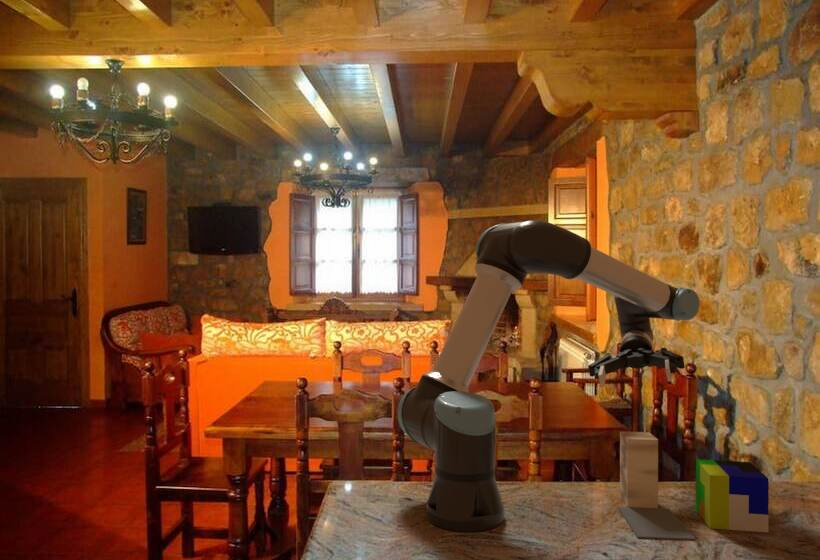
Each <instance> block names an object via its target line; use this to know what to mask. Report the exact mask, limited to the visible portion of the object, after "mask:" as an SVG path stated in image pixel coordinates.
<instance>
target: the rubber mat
mask: <svg viewBox="0 0 820 560" xmlns="http://www.w3.org/2000/svg"><path fill="white" fill-rule="evenodd" d="M617 509H618V511H619V512H620V514H621V515H622V517H623V519H624V520H625V521H626V523H627V524H628V526H629V527H630V529H631V530H632V532H633V533H634V535H635V537H636V538H637V539H650V540H651V539H652V540H653V539H654V540H681V541H682V540H683V541H695V540H696V537H694V535H693V533H692V532H690V531H689V530H688V528H687V527H686V526H685V525H684V524H683V523H682V521H681V520H680V519H679V518H678V517H677V515H675V513H674V512H673V511H672V510H671V509H670V508H667V507H666V508H664V507H663V508H661V507H660V508H659V507H658V508H634V507H626V506H625V507H624V506H617Z"/></svg>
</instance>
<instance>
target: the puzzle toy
mask: <svg viewBox="0 0 820 560" xmlns="http://www.w3.org/2000/svg"><path fill="white" fill-rule="evenodd" d="M769 492H770V491H769V478H768V476H766V475H765V474H764V473H763V472H762V471H761V470H760V469H758V468H757V467H756V466H755V465H754V464H752V462H750V461H735V460H734V461H733V460H716V459H697V458H696V459H695V509H696V511H697V510H698V511H697V512H698V513H699V515H700V517H701V518H702V519H703V521H704V522H705V524H706V525H707V527H708V528H709V529H718V530H728V531H729V530H730V531H741V532H742V531H744V532H758V533H769V494H770V493H769Z"/></svg>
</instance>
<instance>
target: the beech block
mask: <svg viewBox="0 0 820 560" xmlns="http://www.w3.org/2000/svg"><path fill="white" fill-rule="evenodd" d="M619 498H620V500H621V502H623V504H624V505H625V507H634V508H659V439H658V438H657V437H656V436H654V434H652V433H651V432H649V431H619Z"/></svg>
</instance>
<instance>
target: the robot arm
mask: <svg viewBox="0 0 820 560" xmlns="http://www.w3.org/2000/svg"><path fill="white" fill-rule="evenodd" d="M475 255H476V258H475V259H476V262H475V265H474V271H475V273H476V279H475V281H474V282H473V285H472V287H471V289H470V291H469V293H468V295H467V297H466V299H465V301H464V303H463V305H462V307H461V309H460V312H459V314H458V316H457V318H456V320H455V322H454V324H453V326H452V328H451V331H450V333H449V334H448V337H447V338H446V341H445V343H444V345H443V347H442V349H441V352H440V354H439V355H438V358H437V359H436V362H435V363H434V366H433V368H432V369H431V370H430V371H427V372H424V373H423V374H422V375H421V376H420V379H419V381H418V382H417V385H416V386H414V387H412V388H411V389H409V390H407V391H406V392H405V393H404V394H403V395H402V397H401V398H400V401H399V402H398V406H397V420H398V424H399V427H400V428H401V430H402V431H403V432H404V434H405V435H406V436H407V437H409V438H410V439H411V440H412V441H413V442H414V443H417V444H419V445H422V446H424V447H426V448H427V449H429V450H432V451H433V452H434V455H435V457H434V458H435V459H434V464H435V466H434V467H435V468H434V470H435V476H434V480H433V481H432V482H433V483H432V485H431V488H430V492H429V495H428V498H427V501H426V512H425V513H426V518H427V520H428V522H430V523H431V524H433V525H434V526H436V527H439V528H442V529H444V530H449V531H454V532H455V531H456V532H481V531H486V530H491V529H493V528H497V527H498V526H499V525H501V524H502V523H503V522H504V519H505V505H504V502H503V500H502V496H501V493H500V490H499V487H498V484H497V481H496V473H495V472H496V471H495V470H496V469H495V467H496V424H497V420H496V415H495V407H494V404H493V402H492V401H491V400H490V399H489V398H487V397H485V396H484V395H481V394H479V393H476V392H475V393H474V392H473V393H471V392H469V386H470V383H471V381H472V379H473V376H474V375H475V372H476V370H477V368H478V366H479V364H480V362H481V360H482V356H483V355H484V353H485V350H486V348H487V346H488V345H489V343H490V339H491V338H492V336H493V334H494V331H495V329H496V327H497V325H498V323H499V321H500V318H501V316H502V314H503V312H504V310H505V307H506V305H507V303H508V301H509V299H510V297H511V294H512V293H513V292H516V291H519V290H521V289H522V287H523V284H524V282H525V280H526V278H527V276H528V274H545V275H553V276H558V277H562V278H563V279H566V280H574V279H577V280H580V281H582V282H584V283H586V284H588V285H590V286H593V287H595V288H597V289H600V290H602V291H603V292H605V293H609V294H611V295H612V296H613V300H614V304H615V308H616V313H617V318H618V324H619V330H620V335H621V341H620V349H619V353H618V354H616V355H612V354H611V352H607V353H605V354H604V355H603V356H602V357H600V358H598V359H596V360H595V361H593V362H591V363H590V364H588V366H587V367H588V373H589V377H595V379H596V380H599V385H600V388H603V387H605V384H606V380H607V375H609V374H611V373H614V372H615V371H618V370H626V369H628V368H630V369H633V370H634V369H635V370H639V369H645V367H648V368H652V367H658V368H661V369H665V375H666V380H667V382H672V374H675V373H677V369H679V370H680V369H681V370H683V369H685V368H686V365H685V361H684V356H682V355H680V354H678V353H675V352H672V351H670V350H668V349H667V348H666V347H661V348H660V349H659V350H658V351H655V350H654V344H653V343H654V333H653V330H652V326H651V321H650V320H651V319H659V320H660V319H661V320H674V321H690V320H692V319H694V318H695V317H696V316H697V314H698V313H699V308H700V298H699V295H698V294H697V292H696V291H695V290H694V289H691V288H686V287H675V286H672V285H670V284H668V283H666V282H663V281H661V280H660V279H658V278H655V276H653V275H652V276H651V275H649V274H648V273H645V272H643V271H642V270H639V269H637V268H635V267H634V266H631V265H629V264H627V263H625V262H623V261H621V260H619V259H617V258H615V257H613V256H611V255H609V254H606V253H605V252H603V251H601V250H598V249H597V248H594V247H593V246H592V244H591V242H590V241H589V239H587V238H585V237H583V236H581V235H578V234H577V233H575V232H572V231H570V230H568V229H566V228H564V227H562V226H559V225H557V224H555V223H551V222H547V221H545V220H539V219H532V220H531V219H530V220H525V221H519V222H511V223H510V222H503V223H499V224H496V225H494V226H491V227H489V228H487V229H486V230H484V231H483V232H482V233H481V235H480V236H479V237H478V240H477V242H476V245H475Z"/></svg>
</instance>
